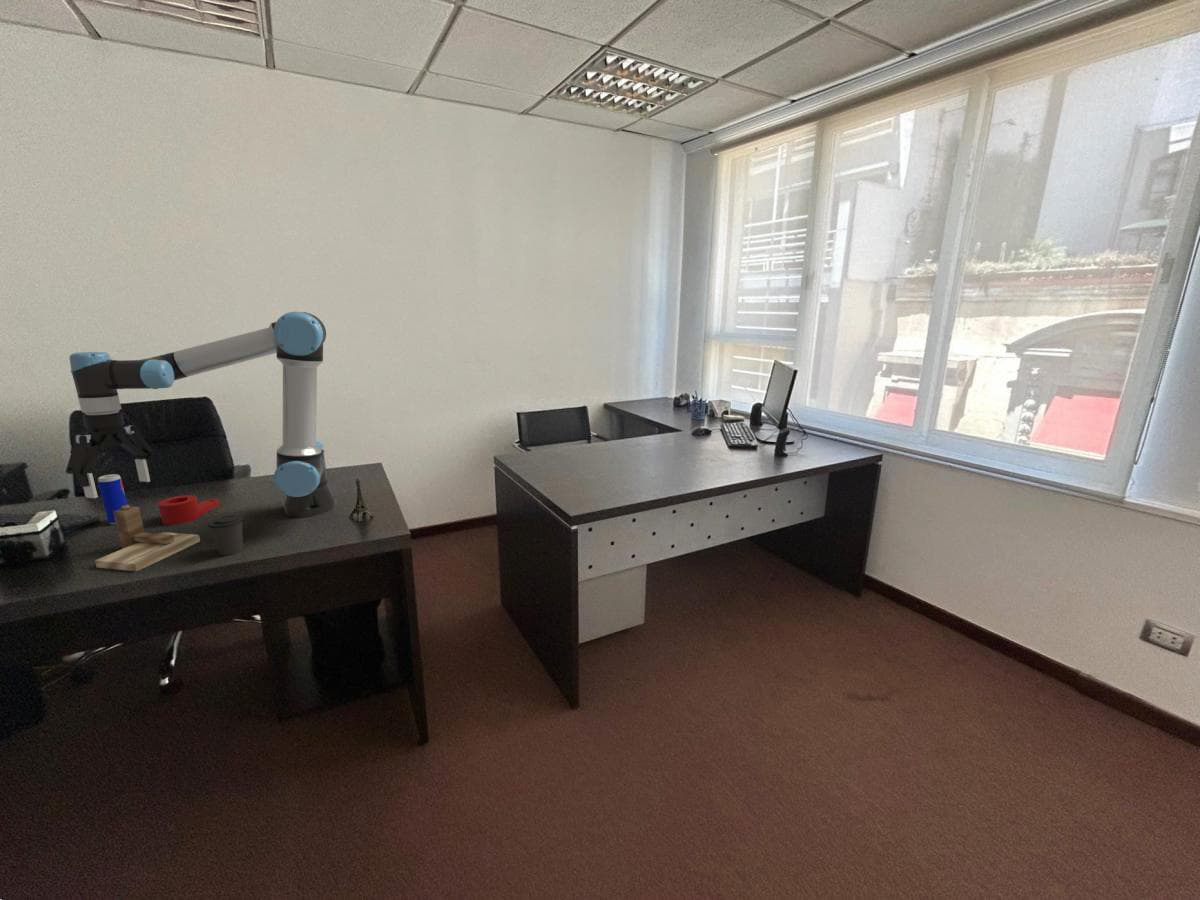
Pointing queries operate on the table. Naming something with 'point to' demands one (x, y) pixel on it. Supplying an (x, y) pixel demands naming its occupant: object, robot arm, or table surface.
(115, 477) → the beverage can
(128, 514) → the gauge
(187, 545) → the board
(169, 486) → the table surface
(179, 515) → the lever
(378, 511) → the table surface
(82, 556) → the table surface
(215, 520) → the coffee cup
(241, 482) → the table surface
